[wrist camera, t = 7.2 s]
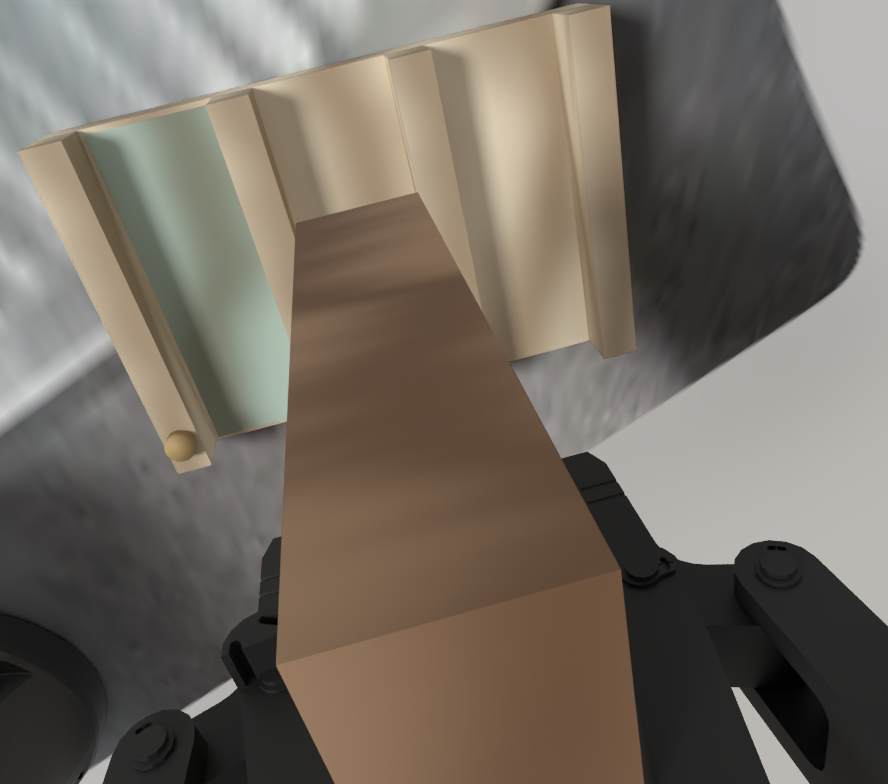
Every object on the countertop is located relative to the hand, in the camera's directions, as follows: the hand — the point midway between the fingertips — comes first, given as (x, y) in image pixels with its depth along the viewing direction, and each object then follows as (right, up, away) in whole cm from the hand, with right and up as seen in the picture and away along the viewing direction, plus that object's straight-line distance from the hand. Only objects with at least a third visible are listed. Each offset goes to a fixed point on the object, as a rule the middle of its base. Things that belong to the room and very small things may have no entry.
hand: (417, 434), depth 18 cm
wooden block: (0, +1, +2) cm, 3 cm away
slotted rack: (-3, +8, +14) cm, 16 cm away
